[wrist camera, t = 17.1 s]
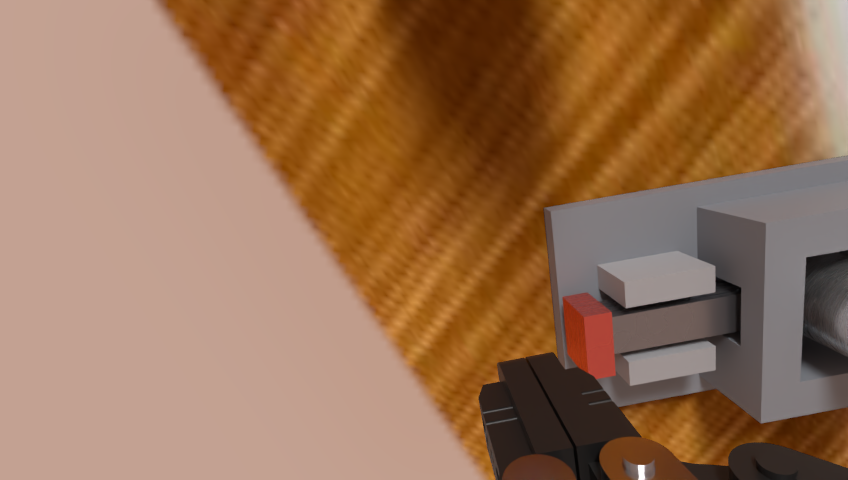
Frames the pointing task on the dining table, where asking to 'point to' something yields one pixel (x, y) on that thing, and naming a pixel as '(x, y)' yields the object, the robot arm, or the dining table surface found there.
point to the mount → (713, 282)
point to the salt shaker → (827, 301)
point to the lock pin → (644, 325)
